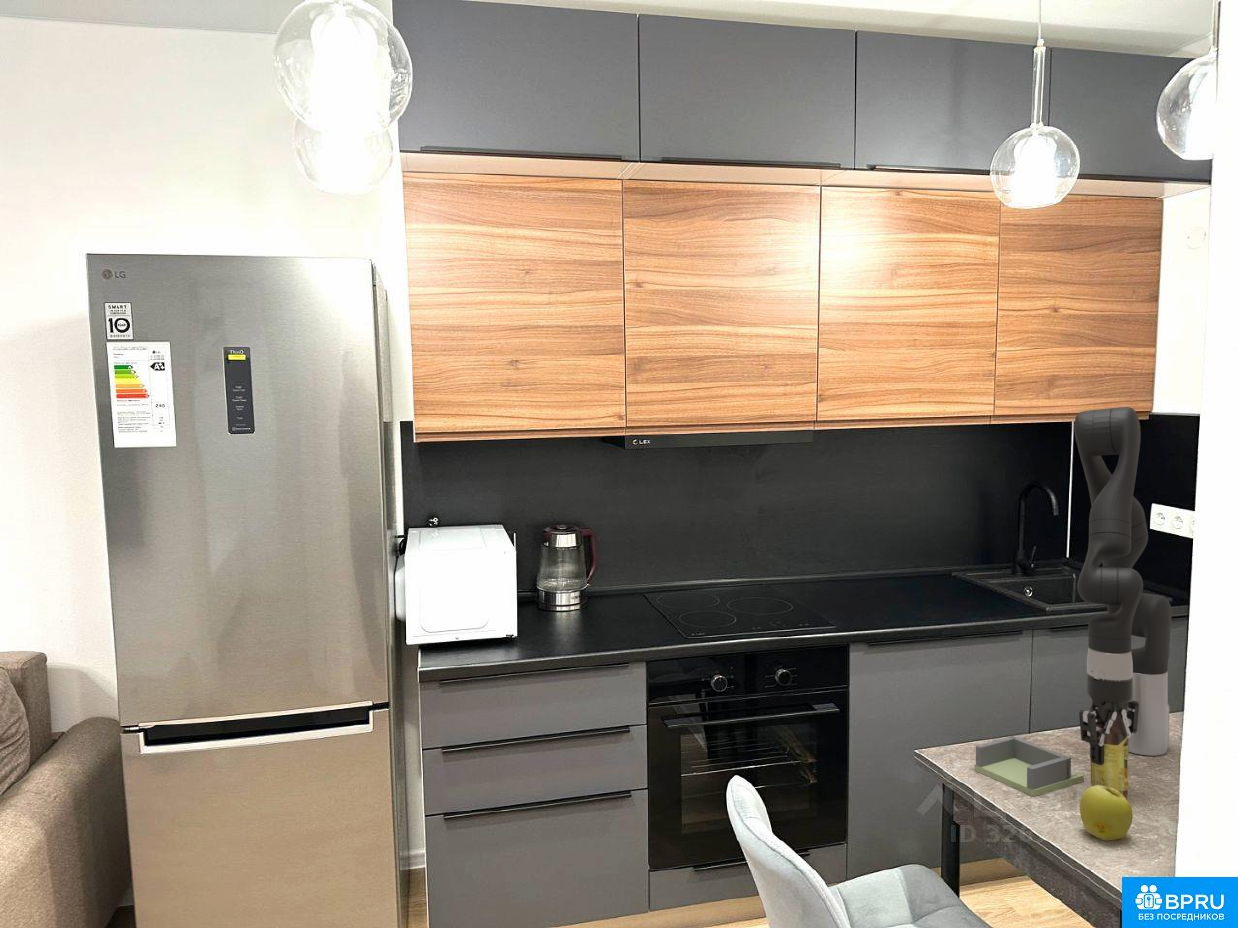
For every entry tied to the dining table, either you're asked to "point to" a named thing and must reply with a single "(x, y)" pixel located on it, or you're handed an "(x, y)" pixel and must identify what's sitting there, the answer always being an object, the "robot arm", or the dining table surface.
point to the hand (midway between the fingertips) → (1109, 759)
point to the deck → (1025, 766)
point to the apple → (1105, 812)
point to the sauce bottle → (1113, 757)
